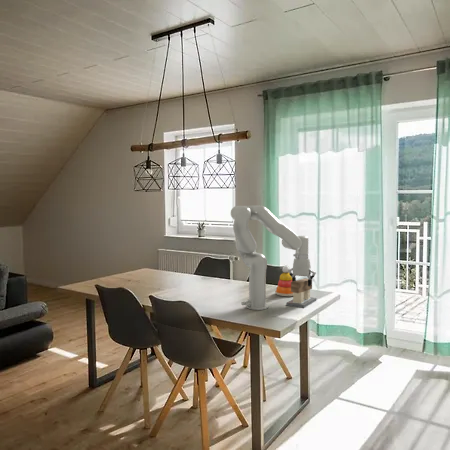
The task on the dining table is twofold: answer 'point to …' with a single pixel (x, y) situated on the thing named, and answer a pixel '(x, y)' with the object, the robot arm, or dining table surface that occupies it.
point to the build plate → (301, 299)
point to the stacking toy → (284, 283)
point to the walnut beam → (300, 285)
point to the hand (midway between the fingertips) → (301, 285)
